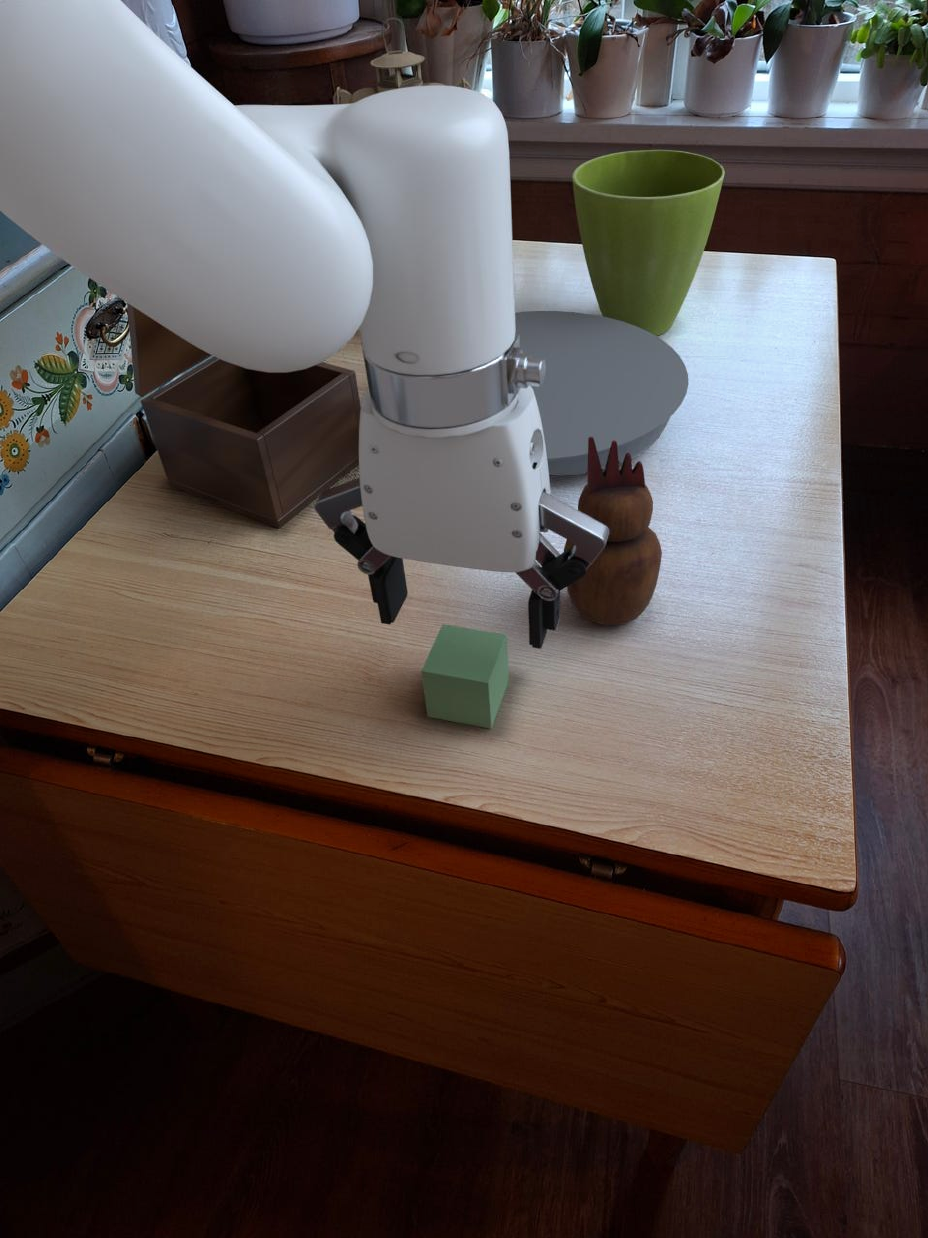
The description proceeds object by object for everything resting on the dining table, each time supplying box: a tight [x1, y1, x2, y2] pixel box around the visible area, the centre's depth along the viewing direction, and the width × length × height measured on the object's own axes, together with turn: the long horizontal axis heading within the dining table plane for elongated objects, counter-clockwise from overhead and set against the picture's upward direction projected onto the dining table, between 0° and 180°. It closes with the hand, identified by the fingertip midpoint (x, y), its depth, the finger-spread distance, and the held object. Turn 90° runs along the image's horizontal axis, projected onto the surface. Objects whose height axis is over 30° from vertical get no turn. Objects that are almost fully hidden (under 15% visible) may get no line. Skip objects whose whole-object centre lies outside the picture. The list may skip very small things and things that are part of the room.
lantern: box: [332, 17, 472, 105], centre depth 94 cm, size 14×12×30 cm
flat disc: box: [515, 310, 689, 476], centre depth 87 cm, size 28×28×4 cm
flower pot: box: [571, 149, 725, 337], centre depth 96 cm, size 15×15×16 cm
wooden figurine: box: [563, 437, 663, 626], centre depth 62 cm, size 7×6×15 cm
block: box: [420, 624, 510, 730], centre depth 60 cm, size 4×4×4 cm
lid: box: [126, 302, 213, 398], centre depth 76 cm, size 14×13×5 cm
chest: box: [140, 356, 361, 529], centre depth 81 cm, size 14×13×9 cm
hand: (466, 620), depth 57 cm, fingers open, 9 cm apart
